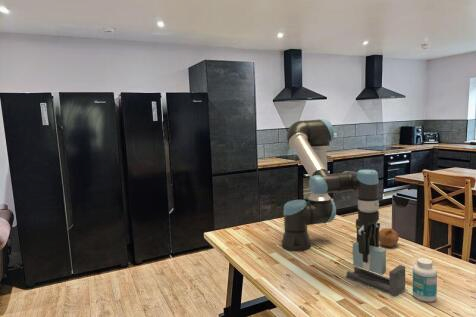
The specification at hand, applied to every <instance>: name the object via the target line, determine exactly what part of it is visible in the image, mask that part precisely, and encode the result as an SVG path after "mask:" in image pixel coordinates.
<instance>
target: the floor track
mask: <svg viewBox="0 0 476 317" xmlns="http://www.w3.org/2000/svg"><path fill="white" fill-rule="evenodd" d="M353 270H354V271H350V270H348V271H347V270H346V276H345V278H346V279H349V280H351V281H354V282H357V283H358V284H360V285H361V284H362V285H364V286H366V287H369V288H372V289H373V290H374V289H375V290H377V291H380V292H382V293H385V294H387V295H390V296H393V297H396V296H398V295H399V294H401V293H402V292H403V291H405V289H406V266H404V265H402V264H399V265H397V266H396V267H395V268H393V269H392V270H390V271H389V272H388V273H389V274H388V276H389V277H387V276H384V275H380V274H377V273H374V272H372V271H368V270H365V269H363V268H360V267H357V266H355V267H353Z"/></svg>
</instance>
